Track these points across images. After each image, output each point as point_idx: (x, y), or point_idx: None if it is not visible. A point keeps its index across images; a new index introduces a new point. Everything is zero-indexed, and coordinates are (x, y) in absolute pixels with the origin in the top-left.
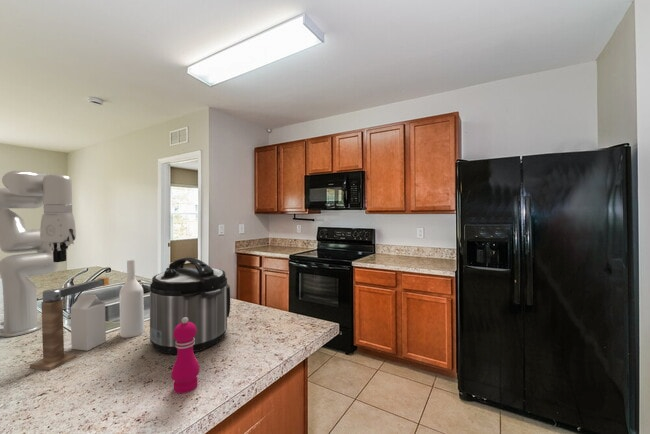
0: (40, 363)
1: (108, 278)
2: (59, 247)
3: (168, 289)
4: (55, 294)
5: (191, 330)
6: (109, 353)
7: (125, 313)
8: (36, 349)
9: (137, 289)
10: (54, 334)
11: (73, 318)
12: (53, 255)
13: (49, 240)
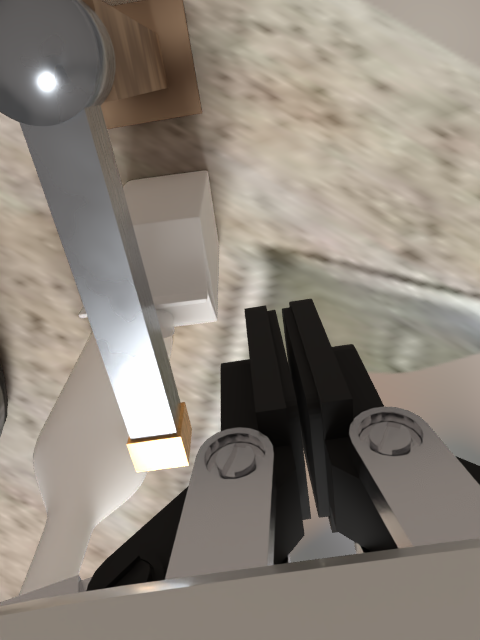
0: (151, 19)
1: (138, 466)
2: (199, 495)
3: None
4: None
5: None
6: (27, 197)
7: (91, 358)
8: (345, 117)
9: (34, 471)
10: None
11: (182, 203)
12: (321, 348)
13: (447, 603)
